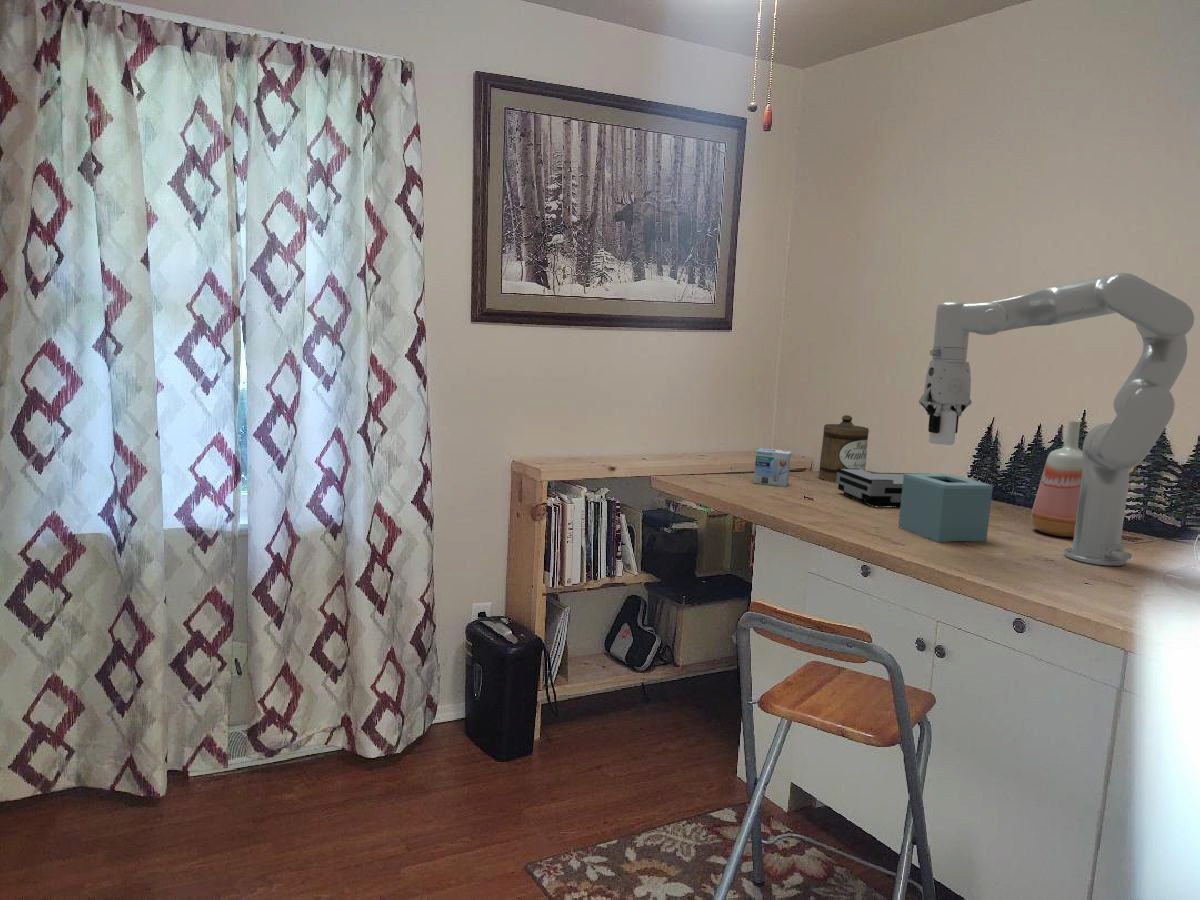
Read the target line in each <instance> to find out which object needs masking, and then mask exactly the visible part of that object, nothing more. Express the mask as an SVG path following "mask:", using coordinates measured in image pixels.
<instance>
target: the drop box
mask: <svg viewBox="0 0 1200 900" xmlns="http://www.w3.org/2000/svg"><path fill="white" fill-rule="evenodd" d="M993 487H994V484H993V485H992V484H989V483H985V482H981V481H978V480H974V479H972V478H971V479H970V478H968V477H967V478H966V477H962V476H960V475H955V474H951V473H922V474H904V478H903V487H902V497H901V507H899V508H900V509H899V517H898V526H899V527H902V528H904V529H903V530H905V529H906V530H905V531H907V530H909V531H908V532H910V531H912V532H914V533H913V534H915V533H916V535H918V534H919V535H918V536H920V535H922V536H921V537H923V536H924V537H923V538H925V537H927V538H926V539H928V538H930V539H929V540H931V539H932V540H931V541H933V540H934V542H936V541H937V542H936V543H951V542H950V541H981V542H987V540H988V532H989V531H988V530H989V522H990V514H991V505H992V497H993V490H994V489H993ZM899 527H898V528H899ZM902 528H901V529H902ZM912 532H911V533H912ZM947 541H949V542H947Z"/></svg>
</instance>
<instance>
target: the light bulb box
mask: <svg viewBox="0 0 1200 900" xmlns="http://www.w3.org/2000/svg"><path fill="white" fill-rule="evenodd" d="M755 451H756V452H755V453H756V454H755V463H754V470H753V471H754V474H753V484H758V485H759V484H760V485H768V486H778V487H784V488H785V487H787V486H788V484H789V479H790V468H791V458H792V451H791V450H784V449H781V450H780V449H772V448H761V447H759V448H758V449H757V450H755Z"/></svg>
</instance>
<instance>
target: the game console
mask: <svg viewBox="0 0 1200 900" xmlns="http://www.w3.org/2000/svg"><path fill="white" fill-rule="evenodd" d="M904 474H923V473H922V472H921V473H916V472H915V473H914V472H913V473H912V472H869V471H866V470H865V471H864V470H861V469H858V468H838V469H837V479H836V482H835V483H836V484H838V487H837V489H838V490H839V491H842V492H843V493H844V494H843V493H842V494H843V495H845V494H846V495H845V496H847V495H848V496H847V497H849V496H850V497H849V498H852V497H855V498H854V499H860V500H864V504H867V503H868V504H867V505H869V504H870V506H871V505H873V506H872V507H874V506H878V507H877V508H883V507H882V506H892V507H891V508H900V507H901V497H902V487H903V478H904ZM879 506H881V507H879ZM893 506H894V507H893ZM895 506H896V507H895Z"/></svg>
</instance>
